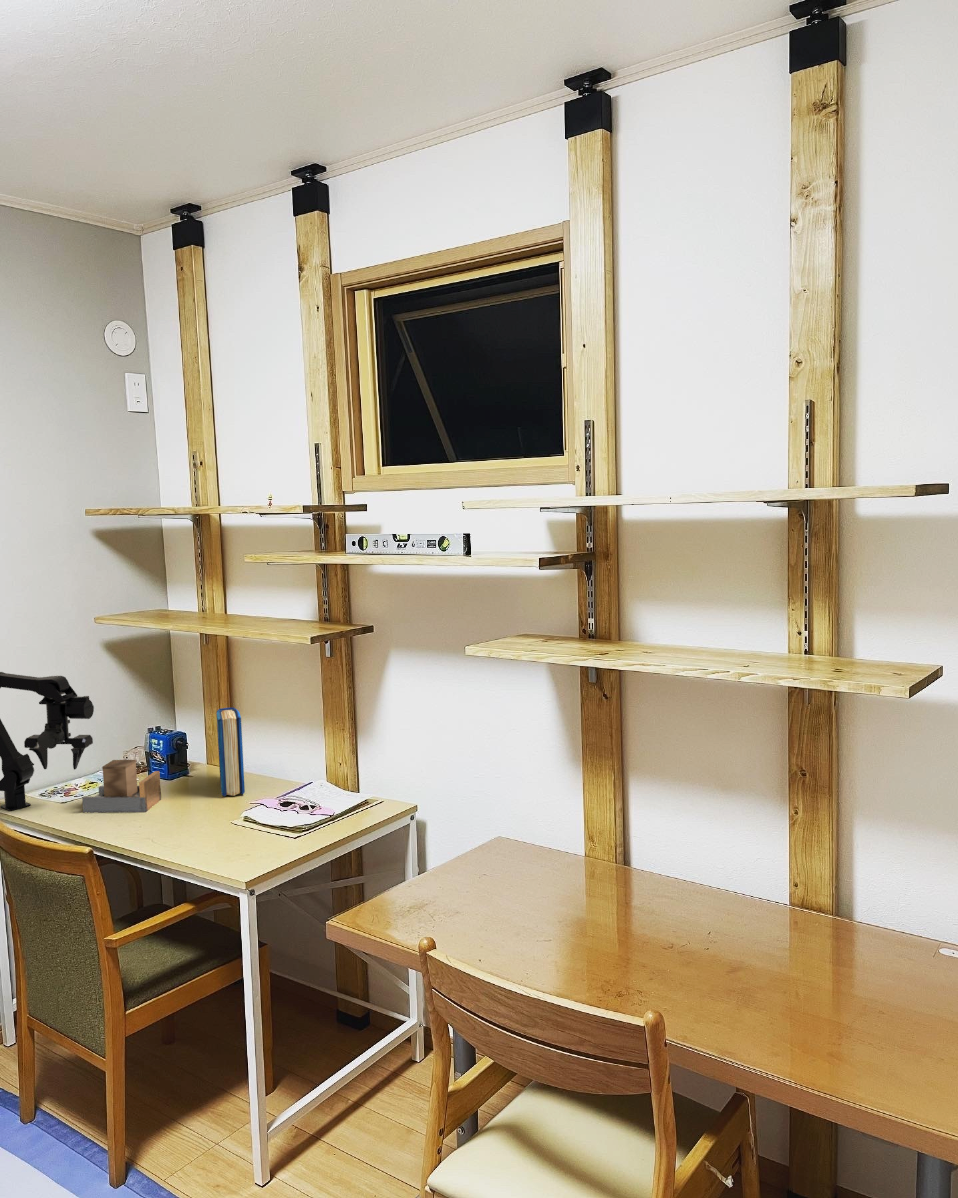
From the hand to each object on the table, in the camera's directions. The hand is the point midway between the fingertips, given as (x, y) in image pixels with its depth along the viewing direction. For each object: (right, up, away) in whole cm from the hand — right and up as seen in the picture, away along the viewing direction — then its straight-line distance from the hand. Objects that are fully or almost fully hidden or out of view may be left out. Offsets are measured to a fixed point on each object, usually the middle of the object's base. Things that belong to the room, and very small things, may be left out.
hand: (60, 769), depth 289 cm
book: (+47, -9, +18) cm, 51 cm away
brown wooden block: (+18, -8, +1) cm, 20 cm away
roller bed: (+18, -11, +1) cm, 21 cm away
